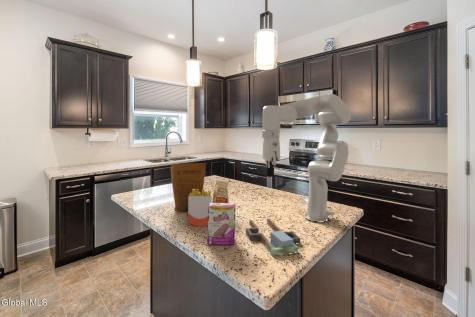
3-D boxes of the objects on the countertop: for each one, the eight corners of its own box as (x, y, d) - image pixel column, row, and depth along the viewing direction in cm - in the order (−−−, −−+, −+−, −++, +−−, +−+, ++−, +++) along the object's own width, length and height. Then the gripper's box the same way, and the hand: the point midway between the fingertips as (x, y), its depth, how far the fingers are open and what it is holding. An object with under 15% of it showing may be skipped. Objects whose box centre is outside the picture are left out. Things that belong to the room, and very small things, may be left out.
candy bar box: (207, 245, 97) (207, 206, 95) (208, 240, 102) (208, 202, 100) (235, 245, 97) (235, 206, 95) (234, 240, 102) (235, 202, 100)
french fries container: (190, 222, 121) (190, 187, 119) (211, 222, 122) (211, 187, 120) (188, 225, 117) (188, 189, 115) (210, 226, 117) (211, 189, 115)
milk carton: (214, 219, 127) (214, 181, 125) (211, 213, 136) (211, 178, 134) (230, 217, 129) (231, 181, 127) (227, 212, 138) (227, 177, 136)
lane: (277, 222, 123) (277, 218, 123) (308, 252, 93) (308, 246, 92) (240, 225, 119) (240, 220, 118) (260, 257, 88) (260, 250, 88)
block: (281, 242, 102) (281, 230, 101) (292, 251, 93) (293, 239, 93) (270, 243, 100) (270, 232, 100) (281, 253, 92) (281, 241, 91)
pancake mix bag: (205, 212, 137) (205, 163, 134) (170, 212, 135) (170, 163, 132) (205, 208, 144) (205, 162, 141) (172, 209, 142) (172, 161, 139)
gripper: (286, 135, 98) (284, 179, 100) (272, 134, 113) (271, 173, 115) (268, 135, 96) (267, 180, 98) (257, 134, 111) (256, 173, 113)
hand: (269, 176), depth 107 cm, fingers closed
